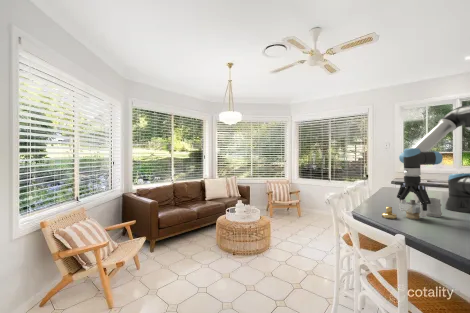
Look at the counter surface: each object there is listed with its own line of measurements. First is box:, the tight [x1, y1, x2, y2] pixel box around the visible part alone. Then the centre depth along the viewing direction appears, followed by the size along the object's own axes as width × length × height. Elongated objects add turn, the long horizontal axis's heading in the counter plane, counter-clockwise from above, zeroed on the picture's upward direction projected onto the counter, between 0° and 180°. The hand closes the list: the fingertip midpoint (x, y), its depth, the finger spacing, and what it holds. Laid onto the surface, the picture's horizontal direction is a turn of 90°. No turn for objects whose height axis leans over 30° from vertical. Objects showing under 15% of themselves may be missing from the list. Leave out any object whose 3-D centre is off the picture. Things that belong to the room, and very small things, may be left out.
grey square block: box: [398, 201, 427, 213], centre depth 130 cm, size 9×9×4 cm
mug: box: [416, 197, 443, 218], centre depth 136 cm, size 8×12×12 cm, turn 44°
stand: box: [405, 199, 421, 220], centre depth 130 cm, size 6×6×10 cm
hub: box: [381, 206, 398, 220], centre depth 132 cm, size 7×7×6 cm
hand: (412, 213), depth 130 cm, fingers open, 12 cm apart
